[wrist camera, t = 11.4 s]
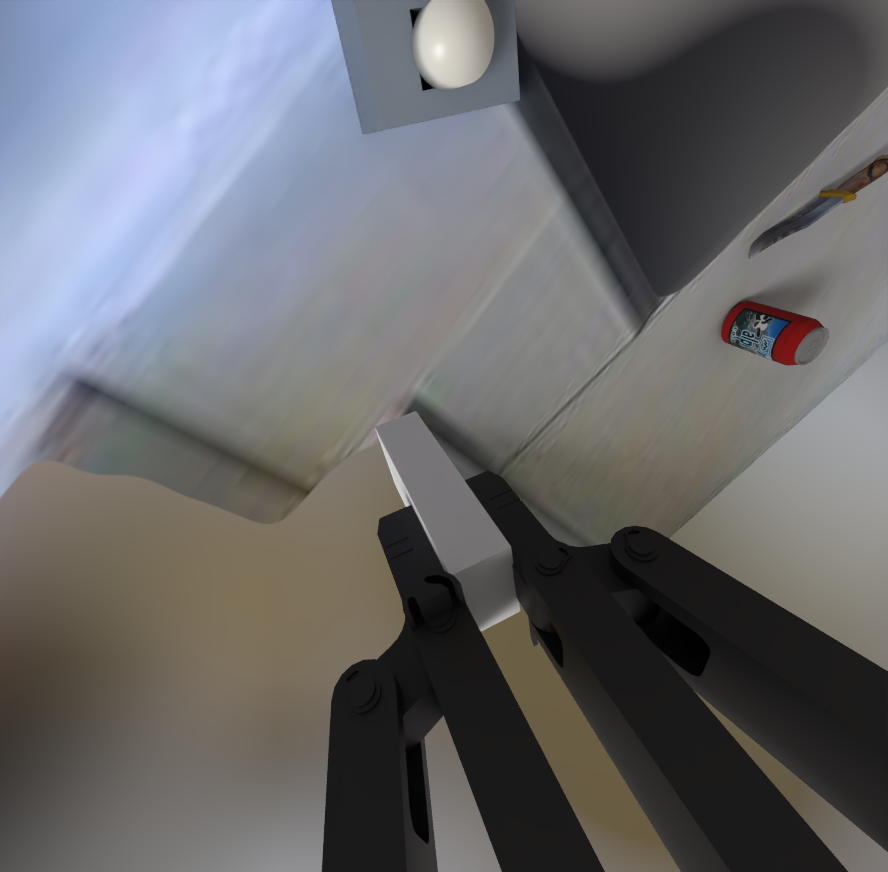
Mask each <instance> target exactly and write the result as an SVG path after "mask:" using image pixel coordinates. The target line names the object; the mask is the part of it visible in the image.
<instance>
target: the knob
mask: <svg viewBox="0 0 888 872" xmlns="http://www.w3.org/2000/svg"><path fill="white" fill-rule="evenodd" d="M493 48H494V25H493V20H492V17H491V13H490V11H489V8H488V6H487V4H486V2H485V1H484V0H430V1H429V2H428V3H427V4H426V5H425V6H424V7H423V8H422V9H421V11H420V12H419V14H418V16H417V18H416V20H415V23H414V27H413V32H412V52H413V57H414V61H415V64H416V66H417V69H418V71H419V73H420V79H421V85H422V87H424V86H428V85H431V86H432V87H434V88H436V89H438V90H442V91H450V90H453V89H456V88H459V87H462V86H465V85H468V84H471V83H473V82H475V81H476V80H478V79H479V78H480V77H481V76H482V75H483V73H484V72H485V70H486V69H487V67H488V65H489V63H490V60H491V57H492V53H493Z"/></svg>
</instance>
